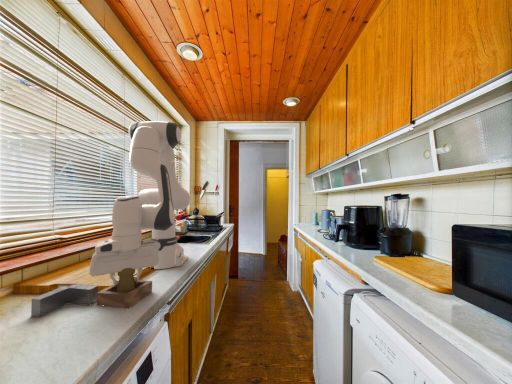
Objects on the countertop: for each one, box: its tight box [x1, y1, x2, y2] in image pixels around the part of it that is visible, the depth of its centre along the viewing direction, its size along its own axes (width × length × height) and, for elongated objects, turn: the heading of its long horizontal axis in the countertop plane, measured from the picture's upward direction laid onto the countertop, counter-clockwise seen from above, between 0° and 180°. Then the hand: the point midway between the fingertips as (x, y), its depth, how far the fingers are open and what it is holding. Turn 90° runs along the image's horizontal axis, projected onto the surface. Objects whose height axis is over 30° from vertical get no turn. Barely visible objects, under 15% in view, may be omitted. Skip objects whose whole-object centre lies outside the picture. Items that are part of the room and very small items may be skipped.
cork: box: [117, 268, 136, 293], centre depth 73 cm, size 6×6×11 cm
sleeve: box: [95, 279, 153, 309], centre depth 73 cm, size 12×12×4 cm
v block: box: [30, 283, 99, 318], centre depth 68 cm, size 8×16×5 cm, turn 126°
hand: (126, 283), depth 73 cm, fingers closed on cork, 4 cm apart
